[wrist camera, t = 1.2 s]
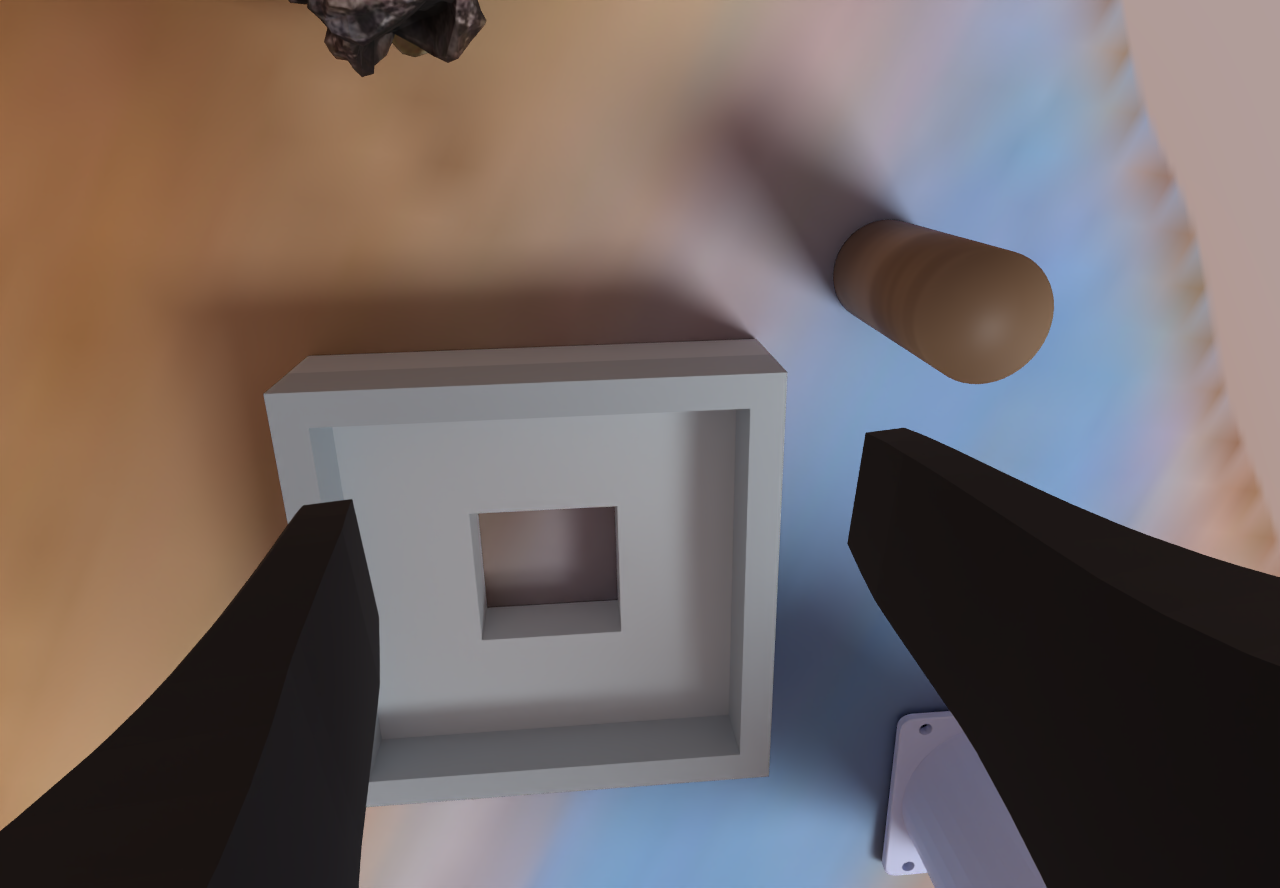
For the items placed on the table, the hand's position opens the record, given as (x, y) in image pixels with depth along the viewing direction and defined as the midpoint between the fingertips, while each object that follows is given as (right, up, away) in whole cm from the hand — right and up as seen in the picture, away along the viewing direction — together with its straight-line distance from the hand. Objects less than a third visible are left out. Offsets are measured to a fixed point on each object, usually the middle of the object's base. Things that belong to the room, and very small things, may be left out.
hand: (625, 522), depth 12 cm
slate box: (-3, -2, +17) cm, 17 cm away
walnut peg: (+8, +7, +14) cm, 18 cm away
